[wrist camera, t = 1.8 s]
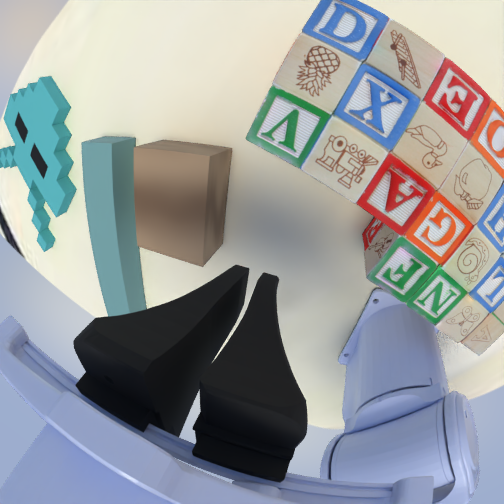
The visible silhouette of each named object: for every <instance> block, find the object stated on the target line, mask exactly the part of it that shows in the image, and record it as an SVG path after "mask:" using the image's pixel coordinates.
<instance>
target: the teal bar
mask: <svg viewBox="0 0 504 504" xmlns="http://www.w3.org/2000/svg"><path fill="white" fill-rule="evenodd" d="M134 147H135V138H130V137H101V138H97V139H93V140H89V141H85V142H82V166H83V181H84V192H85V202H86V210H87V218H88V225H89V232H90V238H91V244H92V249H93V255H94V260H95V265H96V269H97V274H98V278H99V283H100V287H101V291H102V295H103V299H104V303H105V306H106V310H107V313H108V317H109V316H117V315H123V314H128V313H133V312H138V311H142V310H146V302H145V296H144V288H143V281H142V273H141V264H140V254H139V246H137V234H136V221H135V203H134Z"/></svg>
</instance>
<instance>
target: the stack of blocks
mask: <svg viewBox="0 0 504 504" xmlns="http://www.w3.org/2000/svg"><path fill="white" fill-rule="evenodd" d="M272 84H273V86H272V87H271V88H270V90H269V92H268V94H267V96H266V98H265V100H264V101H263V103H262V105H261V107H260V109H259V111H258V114H257V116H256V118H255V120H254V122H253V124H252V126H251V128H250V130H249V132H248V134H247V136H246V140H248V141H249V142H251V143H253V144H255V145H257V146H259V147H261V148H263V149H264V150H266V151H268V152H270V153H272V154H274V155H275V156H277V157H279V158H281V159H283V160H285V161H286V162H288V163H290V164H292V165H293V166H295V167H298V168H300V169H301V170H302V171H304V172H305V173H307V174H308V175H310V176H312V177H313V178H315V179H317V180H318V181H320V182H321V183H323V184H325V185H326V186H328V187H329V188H331V189H333V190H334V191H336V192H337V193H339V194H340V195H342V196H344V197H345V198H347V199H348V200H350V201H351V202H353V203H356V204H357V205H359V206H360V207H362V208H363V209H364V210H366V211H367V212H369V213H370V214H371V215H373V216H374V219H373V220H372V221H371V222H370V224H369V225H368V227H367V228H366V229H365V231H364V232H363V234H362V236H363V241H364V247H365V252H364V256H365V267H366V278H367V279H368V280H370V281H371V282H373V283H374V284H376V285H377V286H379V287H380V288H382V289H383V290H385V291H386V292H388V293H389V294H391V295H392V296H394V297H395V298H397V299H398V300H400V301H401V302H405V304H406V305H407V306H408V307H409V308H411V309H412V310H414V311H415V312H416V313H418V314H419V315H420V316H422V317H423V318H425V319H426V320H427V321H429V322H430V323H432V324H434V326H435V327H436V328H437V329H438V330H440V331H441V332H443V333H444V334H445V335H447V336H448V337H450V338H451V339H452V340H454V341H455V342H457V343H458V342H461V343H462V344H463V345H465V346H466V347H467V348H469V349H470V350H472V351H473V352H474V353H476V354H477V355H481V354H482V353H483V352H484V351H485V350H486V349H487V348H488V347H490V346H491V345H492V344H493V343H494V342H495V341H496V340H497V339H498V338H499V337H500V336H501V335H502V334H503V333H504V112H503V110H502V109H501V108H500V107H499V106H498V105H497V104H496V102H495V101H494V100H492V99H491V98H490V97H489V96H488V94H487V93H486V92H485V91H484V90H483V89H482V88H481V87H480V86H479V85H478V84H477V83H476V82H475V81H474V80H473V79H472V78H471V77H469V76H468V75H467V74H466V73H465V72H464V71H463V70H462V69H460V68H459V67H458V66H457V65H456V64H455V63H453V62H452V61H451V60H450V59H448V58H446V57H445V56H444V54H443V53H442V52H440V51H439V50H438V49H436V48H435V47H434V46H432V45H431V44H429V43H428V42H427V41H425V40H424V39H422V38H421V37H420V36H418V35H417V34H415V33H414V32H412V31H411V30H409V29H408V28H406V27H404V26H403V25H401V24H400V23H398V22H396V21H394V20H393V19H390V18H388V17H387V16H386V15H385V14H383V13H381V12H379V11H377V10H375V9H373V8H372V7H370V6H368V5H366V4H363V3H361V2H359V1H357V0H321V1H320V2H319V4H318V5H317V7H316V9H315V10H314V12H313V13H312V15H311V17H310V18H309V20H308V21H307V23H306V24H305V26H304V28H303V29H302V33H301V34H299V36H298V37H297V39H296V41H295V42H294V44H293V46H292V47H291V49H290V51H289V52H288V54H287V56H286V58H285V60H284V61H283V63H282V65H281V67H280V69H279V71H278V72H277V74H276V76H275V78H274V80H273V83H272Z"/></svg>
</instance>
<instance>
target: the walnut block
mask: <svg viewBox="0 0 504 504" xmlns="http://www.w3.org/2000/svg"><path fill="white" fill-rule="evenodd" d="M231 155H232V148H227V147H220V146H213V145H206V144H198V143H189V142H180V141H170V140H161V141H157V142H152V143H148V144H144V145H140V146H137V147H134V203H135V221H136V234H137V246H139V247H142V248H145V249H148V250H151V251H154V252H157V253H160V254H163V255H166V256H170V257H173V258H176V259H179V260H182V261H185V262H189V263H192V264H195V265H198V266H202V267H203V266H204V265H205V264H206V262H207V261H208V260H209V259H210V258H211V257H212V256H213V254H214V253H215V252H216V251H217V250H218V249H219V247H220V246H221V245H222V244H223V233H224V222H225V211H226V201H227V192H228V182H229V173H230V164H231Z"/></svg>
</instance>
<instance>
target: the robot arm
mask: <svg viewBox="0 0 504 504" xmlns="http://www.w3.org/2000/svg"><path fill="white" fill-rule="evenodd" d="M248 275H249V268H246V267H243V266H239V265H235V266H233V267H231V268H230V269H228V270H227V271H225V272H224V273H222V274H221V275H219V276H218V277H216V278H215V279H213V280H211V281H210V282H208V283H206V284H205V285H203V286H201V287H199V288H198V289H196V290H194V291H192V292H190V293H188V294H186V295H184V296H182V297H180V298H177V299H175V300H173V301H170V302H167V303H165V304H162V305H159V306H155V307H152V308H149V309H146V310H142V311H138V312H133V313H128V314H123V315H117V316H109V317H100V318H95V319H94V320H93V321H92V322H91V323H90V324H89V325H88V326H87V327H86V328H85V329H84V330H83V331H82V332H81V333H80V334H79V335H78V336H77V337H76V338H75V340H74V349H75V351H76V354H77V356H78V358H79V360H80V362H81V363H82V365H83V367H84V369H85V371H86V373H85V374H84V375H83V376H82V378H81V379H80V380H78V379H77V378H75V377H74V376H73V375H71V374H70V373H69V372H67V371H66V370H65V369H63V368H62V367H61V366H60V365H58V364H57V363H56V362H54V360H52V359H51V358H50V357H49V356H48V355H46V354H45V353H44V352H43V351H42V350H41V349H39V348H38V347H37V346H36V345H35V344H34V343H33V342H32V341H31V340H29V338H28V335H27V333H26V332H25V330H24V329H23V327H22V326H21V325H20V324H19V323H18V322H17V321H16V320H15V319H14V318H13V317H12V316H9V317H8V318H6V319H5V320H4V321H3V322H2V323H1V324H0V373H1V374H2V375H3V376H4V378H5V379H6V380H7V381H8V383H9V384H10V385H11V386H12V387H13V388H14V390H15V391H16V392H17V393H18V394H19V395H20V396H21V397H22V398H23V399H24V401H25V402H27V404H28V405H29V406H30V407H31V408H32V409H33V410H34V411H35V412H36V413H37V414H38V415H39V416H40V417H41V418H42V419H43V420H45V421H46V422H47V425H46V426H45V427H44V429H43V430H42V431H41V432H40V434H39V435H38V436H37V438H36V439H35V440H34V442H33V443H32V444H31V446H30V447H29V449H28V450H27V451H26V453H25V454H24V456H23V457H22V458H21V460H20V461H19V462H18V464H17V465H16V467H15V468H14V470H13V471H12V473H11V474H10V475H9V477H8V478H7V480H6V481H5V483H4V484H3V486H2V487H1V489H0V504H467V503H468V502H469V501H470V500H471V498H472V497H473V494H474V491H475V490H476V488H477V485H478V481H479V474H480V471H479V447H478V436H477V430H476V425H475V420H474V416H473V413H472V409H471V407H470V404H469V402H468V399H467V398H466V396H465V395H463V394H460V393H458V392H457V391H452V392H451V393H449V389H448V383H447V378H446V373H445V368H444V364H443V359H442V355H441V351H440V347H439V343H438V339H437V336H436V334H437V332H438V331H439V330H438V329H437V328H436V327H435V326H434V324H432V323H430V322H429V321H427V320H426V319H425V318H423V317H422V316H420V315H419V314H418V313H416V312H415V311H414V310H412V309H411V308H409V307H408V306H407V305H406V304H405V302H401V301H400V300H398V299H397V298H395V297H394V296H392V295H391V294H389V293H388V292H386V291H385V290H381V289H376V290H374V291H373V293H372V295H371V297H370V299H369V301H368V303H367V305H366V307H365V309H364V311H363V313H362V315H361V317H360V319H359V321H358V323H357V325H356V327H355V329H354V331H353V333H352V335H351V336H350V338H349V340H348V342H347V344H346V346H345V347H344V349H343V351H342V353H341V354H340V356H339V358H338V362H339V363H340V364H344V365H347V367H346V379H345V390H344V399H343V408H342V414H343V419H344V422H345V429H344V433H341V434H339V435H337V436H335V437H334V438H333V439H332V440H331V441H330V442H329V444H328V445H327V447H326V450H325V452H324V455H323V458H322V462H321V468H320V478H314V477H307V476H302V475H297V474H291V473H287V469H288V466H289V463H290V460H291V459H292V457H293V454H294V451H295V448H296V447H297V446H298V445H299V444H300V443H301V442H302V440H303V439H304V438H305V436H306V433H307V406H306V400H305V398H304V396H303V394H302V392H301V390H300V388H299V386H298V384H297V382H296V380H295V377H294V375H293V373H292V370H291V368H290V365H289V362H288V359H287V356H286V354H285V350H284V347H283V343H282V339H281V334H280V329H279V323H278V316H277V302H276V294H277V287H278V282H279V278H278V277H277V276H274V275H271V274H267V273H264V272H263V274H262V275H261V276H260V278H259V279H258V281H257V284H256V286H255V289H254V292H253V294H252V297H251V300H250V302H249V305H248V308H247V310H246V312H245V314H244V317H243V318H242V320H241V322H240V323H239V325H238V327H237V328H236V330H235V331H234V333H233V335H232V336H231V338H230V339H229V341H228V342H227V344H226V345H225V346H224V348H223V349H222V351H221V352H220V353H219V355H218V356H217V358H216V359H215V360H214V358H215V356H216V355H217V353H218V352H219V350H220V348H221V347H222V345H223V343H224V342H225V340H226V338H227V337H228V335H229V333H230V332H231V330H232V328H233V327H234V325H235V323H236V321H237V319H238V317H239V315H240V312H241V310H242V307H243V305H244V301H245V294H246V288H247V281H248ZM374 299H378V300H377V301H374ZM346 353H347V354H346ZM213 360H214V361H213ZM212 362H213V363H212ZM199 389H200V409H201V412H200V414H199V416H198V418H197V420H196V422H195V424H194V426H193V430H195V434H196V444H193V443H191V442H188V441H186V440H184V439H181V438H179V436H180V433H181V431H182V428H183V426H184V423H185V421H186V419H187V416H188V414H189V412H190V409H191V407H192V405H193V402H194V400H195V398H196V395H197V393H198V391H199ZM175 458H177V459H179V460H181V461H184V462H186V463H188V464H191V465H193V466H196V467H198V468H201V469H203V470H206V471H209V472H211V473H214V474H217V475H220V476H223V477H226V478H229V479H232V480H235V481H233V482H232V483H229V482H226V481H224V480H221V479H219V478H216V477H214V476H211V475H209V474H207V473H204V472H202V471H200V470H198V469H196V468H193V467H191V466H189V465H187V464H185V463H183V462H181V461H179V460H177V459H175Z"/></svg>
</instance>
